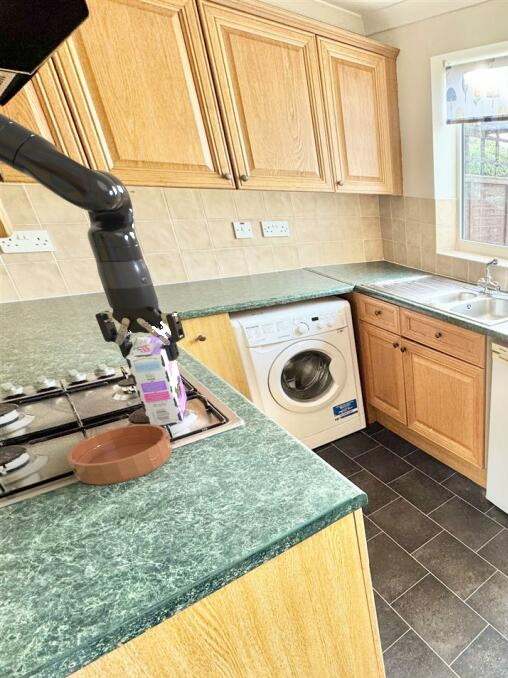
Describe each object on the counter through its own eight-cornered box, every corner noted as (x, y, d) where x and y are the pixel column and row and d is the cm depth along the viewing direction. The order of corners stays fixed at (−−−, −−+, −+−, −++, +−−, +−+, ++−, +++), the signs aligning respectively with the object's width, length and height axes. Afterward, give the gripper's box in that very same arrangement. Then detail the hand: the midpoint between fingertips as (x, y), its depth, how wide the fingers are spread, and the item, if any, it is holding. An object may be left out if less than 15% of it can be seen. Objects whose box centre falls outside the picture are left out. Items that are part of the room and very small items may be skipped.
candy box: (183, 423, 91) (161, 353, 84) (149, 430, 88) (123, 357, 81) (188, 397, 101) (168, 333, 95) (157, 402, 99) (135, 336, 92)
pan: (54, 488, 74) (44, 467, 72) (110, 444, 87) (103, 425, 85) (145, 483, 76) (138, 463, 74) (187, 441, 89) (181, 423, 87)
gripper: (178, 279, 87) (199, 353, 94) (99, 277, 85) (126, 353, 91) (157, 287, 80) (180, 366, 87) (70, 285, 78) (101, 367, 85)
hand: (152, 359), depth 89 cm, fingers closed on candy box, 7 cm apart
